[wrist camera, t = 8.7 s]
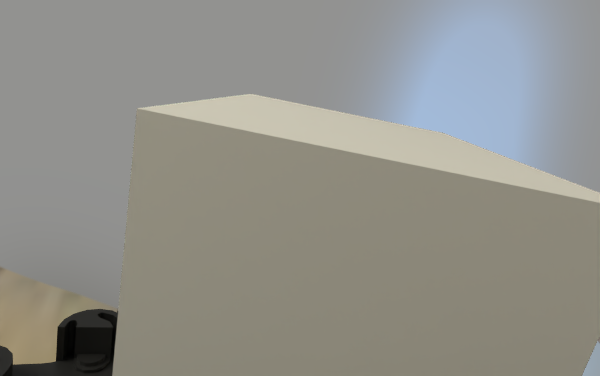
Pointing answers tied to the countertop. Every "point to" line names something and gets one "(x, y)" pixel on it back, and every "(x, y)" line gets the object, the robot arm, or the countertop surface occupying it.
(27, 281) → the countertop surface
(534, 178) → the box
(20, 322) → the countertop surface
